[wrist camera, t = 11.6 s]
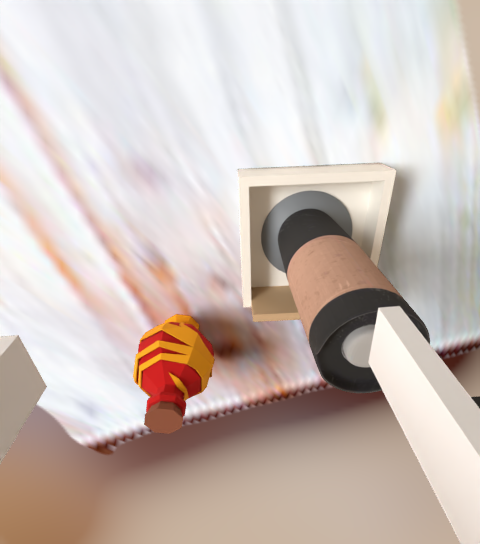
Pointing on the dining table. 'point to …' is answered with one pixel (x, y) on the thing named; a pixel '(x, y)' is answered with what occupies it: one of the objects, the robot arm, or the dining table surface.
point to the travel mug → (337, 297)
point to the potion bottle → (172, 370)
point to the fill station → (297, 196)
